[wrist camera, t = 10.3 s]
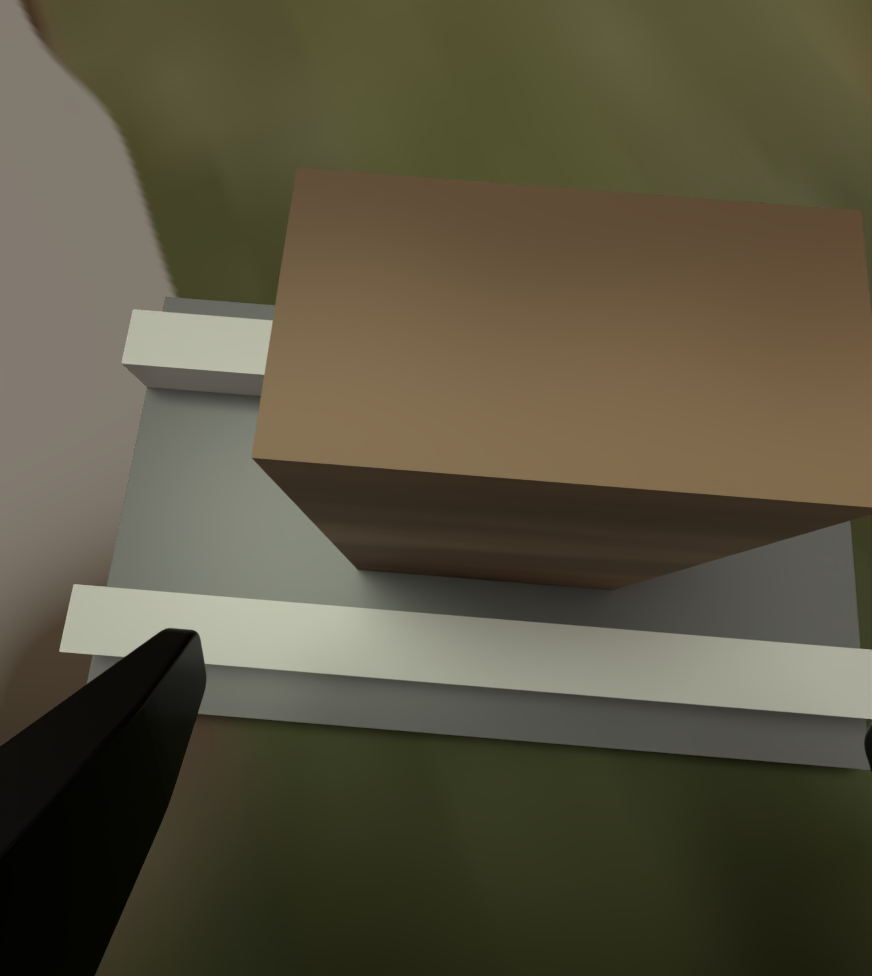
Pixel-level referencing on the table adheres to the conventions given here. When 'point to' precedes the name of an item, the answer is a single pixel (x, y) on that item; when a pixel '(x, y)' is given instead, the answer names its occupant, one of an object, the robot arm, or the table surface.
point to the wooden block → (564, 377)
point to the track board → (448, 602)
